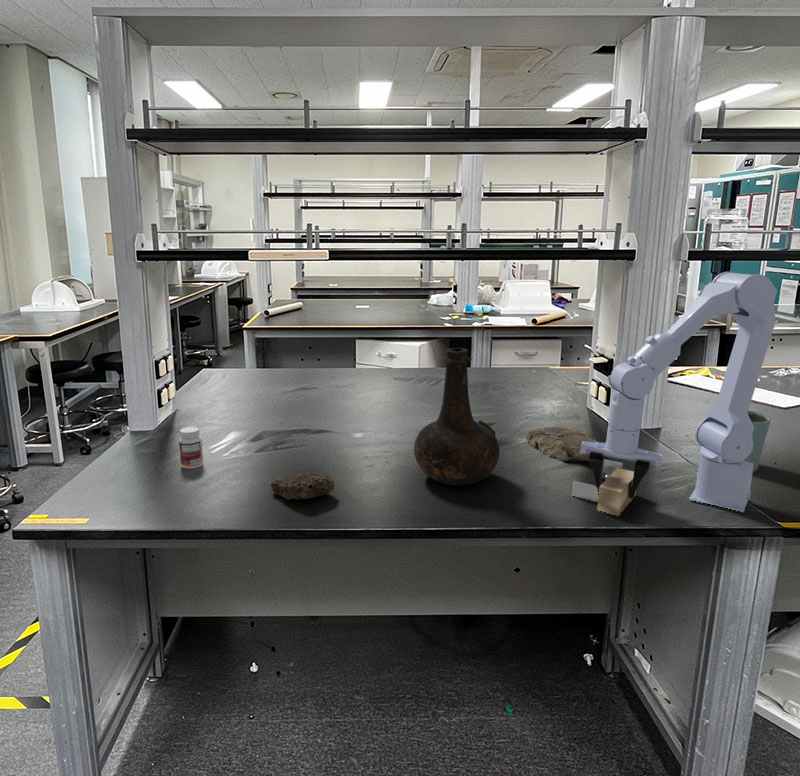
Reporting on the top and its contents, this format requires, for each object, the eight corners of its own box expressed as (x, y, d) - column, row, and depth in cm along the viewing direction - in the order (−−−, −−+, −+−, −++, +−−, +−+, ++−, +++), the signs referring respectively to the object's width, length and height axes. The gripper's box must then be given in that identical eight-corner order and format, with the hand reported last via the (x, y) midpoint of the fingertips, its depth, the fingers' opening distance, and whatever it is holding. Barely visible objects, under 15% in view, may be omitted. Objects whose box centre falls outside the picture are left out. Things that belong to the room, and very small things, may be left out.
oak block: (635, 495, 122) (638, 472, 121) (618, 517, 113) (621, 492, 111) (615, 490, 124) (617, 468, 123) (596, 511, 115) (599, 487, 114)
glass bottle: (512, 489, 124) (519, 354, 118) (429, 499, 119) (432, 359, 113) (477, 459, 141) (482, 340, 134) (403, 467, 136) (404, 343, 129)
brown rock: (340, 499, 119) (339, 475, 118) (293, 512, 113) (292, 487, 112) (312, 481, 128) (312, 458, 127) (267, 492, 122) (266, 468, 121)
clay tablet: (614, 465, 139) (573, 436, 158) (616, 445, 138) (574, 418, 157) (557, 470, 136) (522, 441, 155) (559, 450, 135) (523, 422, 154)
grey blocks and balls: (621, 476, 132) (622, 463, 131) (596, 502, 118) (597, 488, 118) (598, 470, 135) (599, 458, 134) (571, 496, 121) (572, 482, 121)
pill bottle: (185, 461, 138) (182, 426, 136) (206, 461, 138) (203, 426, 136) (177, 469, 134) (174, 432, 132) (198, 469, 133) (196, 433, 131)
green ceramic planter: (731, 455, 145) (738, 406, 142) (772, 469, 137) (781, 418, 134) (702, 461, 141) (709, 412, 138) (744, 476, 132) (752, 424, 129)
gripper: (666, 427, 116) (656, 493, 119) (587, 415, 121) (580, 479, 125) (664, 437, 109) (654, 507, 113) (582, 424, 115) (574, 491, 118)
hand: (615, 493), depth 118 cm, fingers open, 5 cm apart
